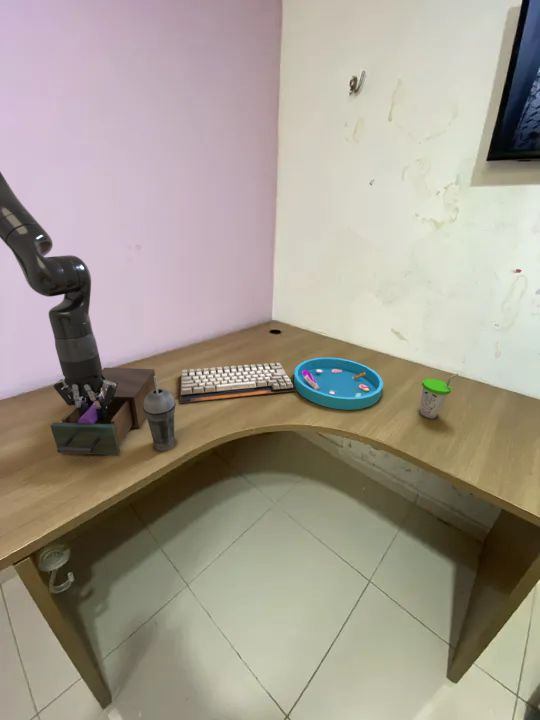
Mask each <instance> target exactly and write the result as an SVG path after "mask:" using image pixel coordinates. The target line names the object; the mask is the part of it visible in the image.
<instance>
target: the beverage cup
mask: <svg viewBox="0 0 540 720" xmlns="http://www.w3.org/2000/svg"><path fill="white" fill-rule="evenodd" d="M154 382H155V390H153V391H151V392H150V393H148V395H147V396H146V398H145V400H144V406H143V410H144V412H145V415H146V419H147V422H148V426H149V430H150V433H151V438H152V441H153V444H154V448H155V449H156V450H157V451H160V452H161V451H162V452H163V451H164V452H165V451H169V450H170V449H171V448H173V447H174V445H175V412H176V405H177V403H176V401H175V397H174V396H173V394H172V392H171V391H169V390H166V389H163V388H158V381H157V376H156V375H155V376H154Z"/></svg>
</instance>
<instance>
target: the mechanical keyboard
mask: <svg viewBox="0 0 540 720" xmlns="http://www.w3.org/2000/svg"><path fill="white" fill-rule="evenodd" d="M287 392H296V388H295V387H294V384H293V380H292V378H290V377H289V376H288V374H287V372H286V371H285V369H284V368H283V365H282V364H281V363H280V362H275V363H274V362H271V363H269V364H268V363H256V364H250V365H249V364H244V365H242V364H241V365H237V366H236V365H230V367H229V366H223V367H222V366H217V367H214V366H213V367H210V368H208V367H203V369H202V368H196V369H195V368H189V369H181V374H180V376H179V404H187V403H199V402H207V401H216V400H225V399H233V398H242V397H243V398H244V397H249V396H250V397H251V396H259V395H267V394H277V393H278V394H280V393H287Z"/></svg>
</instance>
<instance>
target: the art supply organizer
mask: <svg viewBox="0 0 540 720" xmlns="http://www.w3.org/2000/svg"><path fill="white" fill-rule="evenodd" d="M293 387H294V389H295V391H296V392H298V393H299V394H300V395H301V396H302V397H303V398H305V399H306V400H308V401H310V402H312V403H314V404H316V405H319V406H322V407H326V408H330V409H334V410H346V411H352V410H353V411H354V410H362V409H367V408H369V407H371V406H373V405H375V404H377V403H378V401H379V400H380V398H381V396H382V392H383V388H384V380H383V379H382V377H381V376H380V375H379V374H378V373H377V372H376V371H375V370H374V369H372V368H370V367H369V366H367V365H364V364H362V363H360V362H357V361H353V360H349V359H345V358H340V357H339V358H338V357H316V358H310V359H308V360H304V361H302V362H301V363H299V364H298V365H297V366H296V367H295V369H294V376H293Z"/></svg>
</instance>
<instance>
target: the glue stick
mask: <svg viewBox="0 0 540 720" xmlns="http://www.w3.org/2000/svg"><path fill="white" fill-rule="evenodd" d="M106 409H107V407H106ZM97 420H98V416H97V412H96V406H95V404H93V405H92V406H91V407H90V408H89V409H88V410H87V411H86V412H85V413H84V414H83V415H82V417H81V418H80V419H79V420H78V423H88V424H94V423H95V422H96V421H97Z"/></svg>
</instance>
